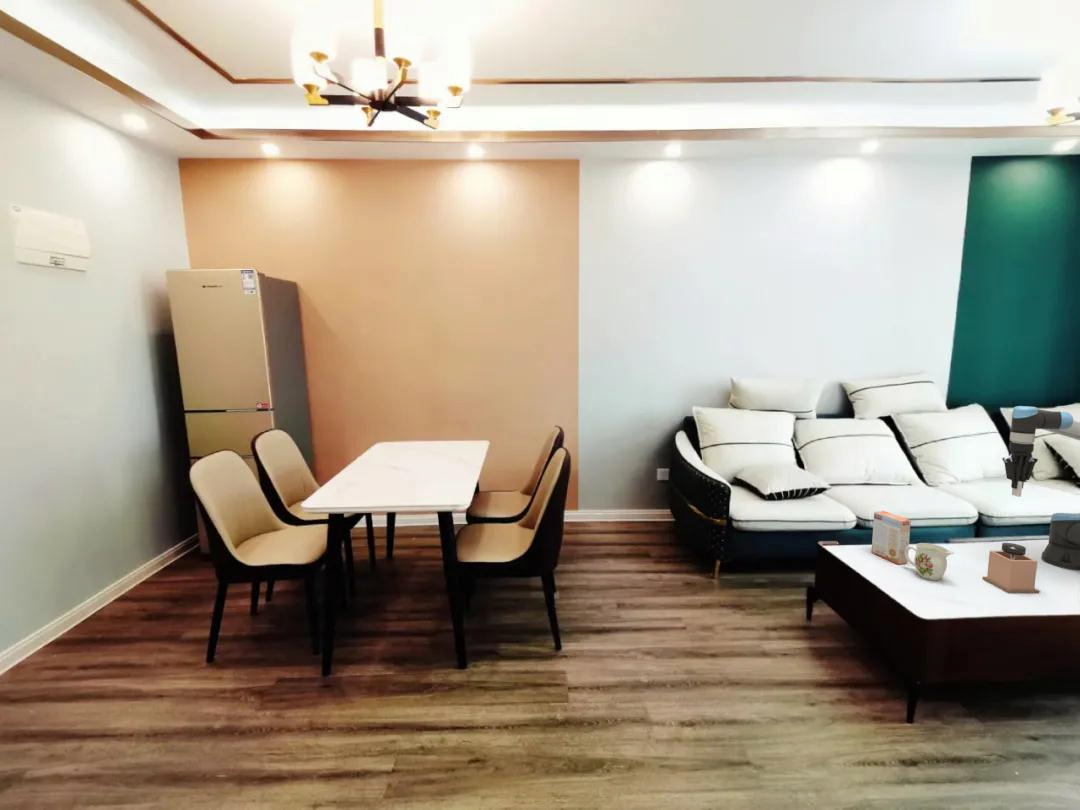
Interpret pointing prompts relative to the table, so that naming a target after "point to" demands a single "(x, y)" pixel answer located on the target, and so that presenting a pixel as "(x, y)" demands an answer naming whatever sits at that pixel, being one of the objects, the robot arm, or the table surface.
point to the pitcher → (929, 560)
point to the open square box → (1011, 572)
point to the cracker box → (890, 536)
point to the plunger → (1013, 549)
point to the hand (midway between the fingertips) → (1016, 495)
